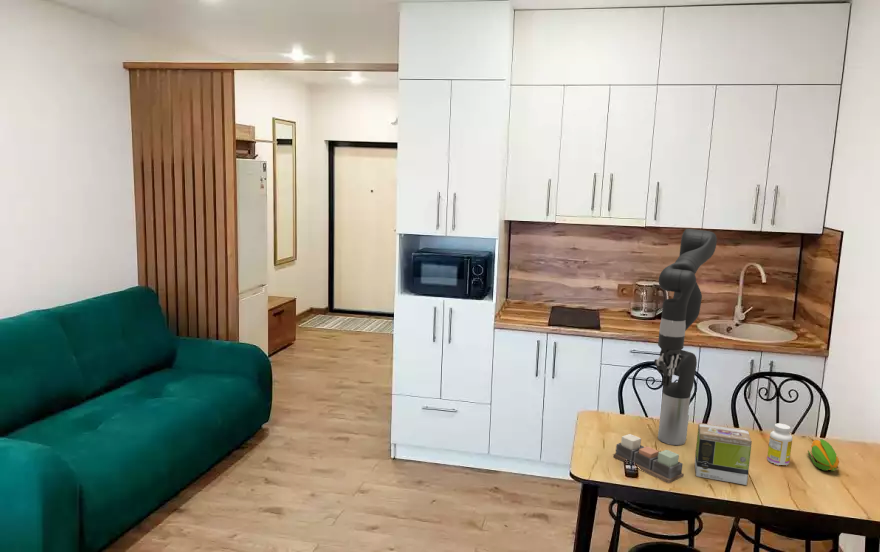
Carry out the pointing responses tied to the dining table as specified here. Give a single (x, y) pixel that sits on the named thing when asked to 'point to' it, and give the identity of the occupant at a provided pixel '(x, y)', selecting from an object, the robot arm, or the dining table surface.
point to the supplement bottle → (780, 445)
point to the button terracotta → (648, 452)
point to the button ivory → (631, 441)
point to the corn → (824, 455)
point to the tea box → (723, 453)
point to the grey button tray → (649, 464)
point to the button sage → (668, 458)
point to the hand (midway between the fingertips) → (666, 385)
